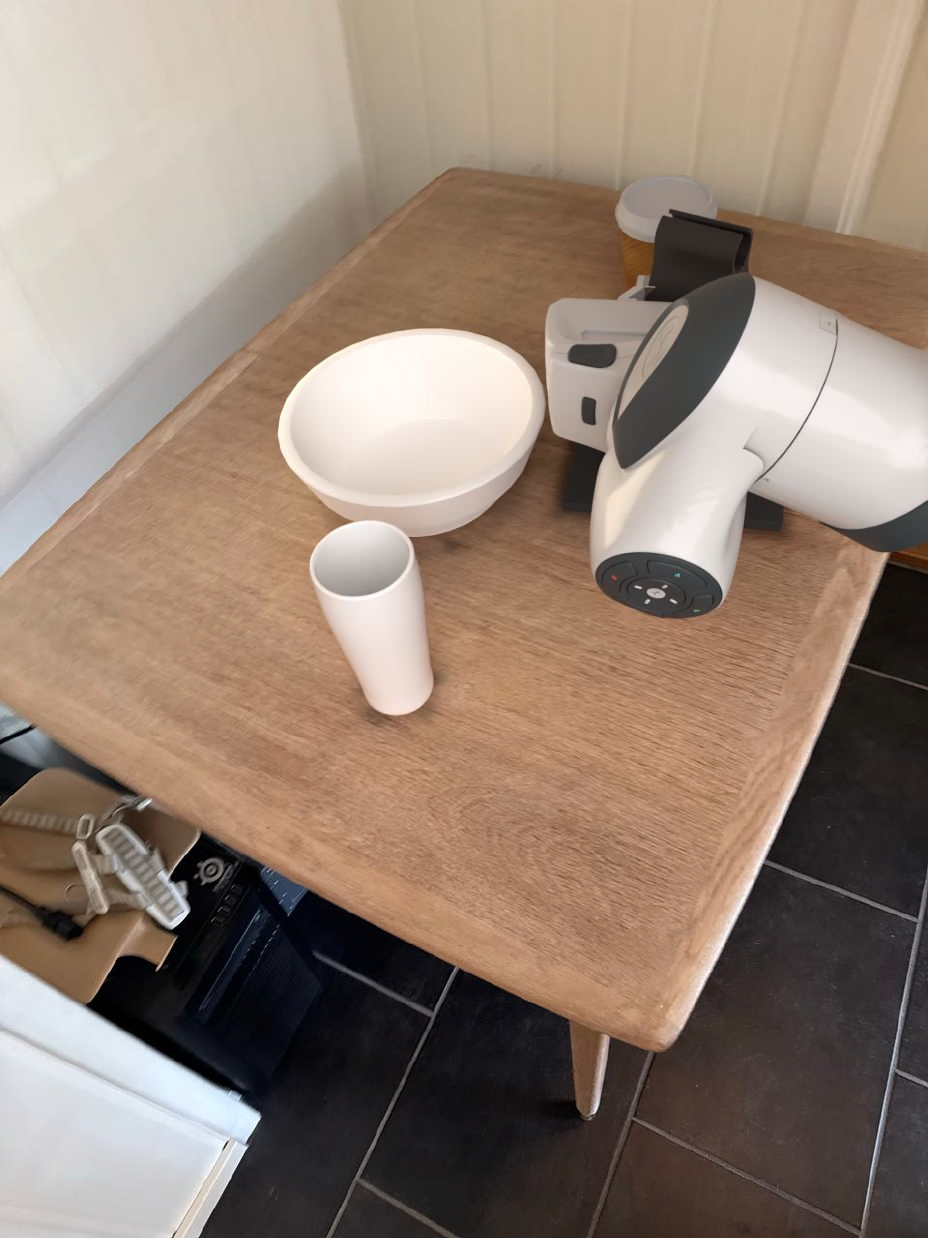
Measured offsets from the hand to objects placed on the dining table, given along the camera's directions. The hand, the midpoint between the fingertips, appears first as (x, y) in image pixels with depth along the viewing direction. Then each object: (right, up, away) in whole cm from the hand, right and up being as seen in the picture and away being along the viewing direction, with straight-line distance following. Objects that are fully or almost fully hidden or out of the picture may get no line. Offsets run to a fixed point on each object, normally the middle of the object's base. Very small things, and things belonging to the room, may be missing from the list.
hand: (697, 285), depth 65 cm
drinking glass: (-22, -30, +1) cm, 37 cm away
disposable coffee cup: (+3, +8, +27) cm, 28 cm away
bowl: (-21, -12, +15) cm, 28 cm away
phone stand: (0, -5, +5) cm, 7 cm away
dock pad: (+2, -9, +14) cm, 17 cm away
